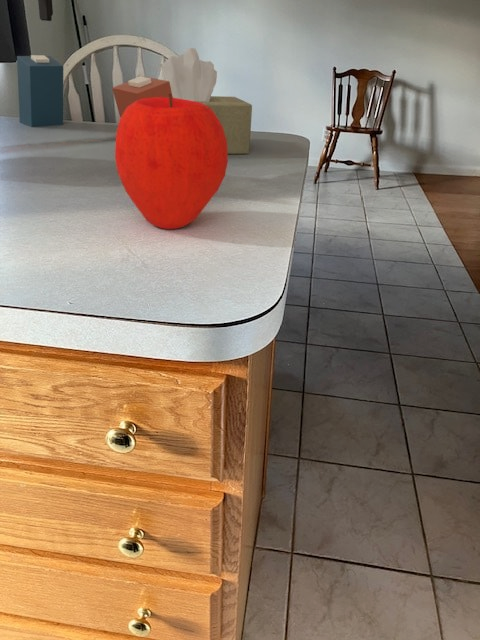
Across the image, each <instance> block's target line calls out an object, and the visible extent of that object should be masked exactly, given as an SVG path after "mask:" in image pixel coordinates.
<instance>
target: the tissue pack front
mask: <svg viewBox="0 0 480 640" xmlns="http://www.w3.org/2000/svg"><path fill="white" fill-rule="evenodd" d="M111 89H112V92H113V96H114V100H115V103H116V108H117V111H118V114H119V119H120V118H121V116H122V115H123V113H124V111H125V110H126V108H127V107H128V106H129V105H131V104H132V103H134V102H136V101H137V100H139V99H143V98H150V97H169V94H172V91H171V87H170V82H169V81H166V80H165V79H158V78H155V77H150V76H149V77H148V76H137V77H135V78H132V79H130V80H127V81H126V82H124V83H120V84H118V85H115V86H113V87H112V88H111ZM172 98H173V96H172Z"/></svg>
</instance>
